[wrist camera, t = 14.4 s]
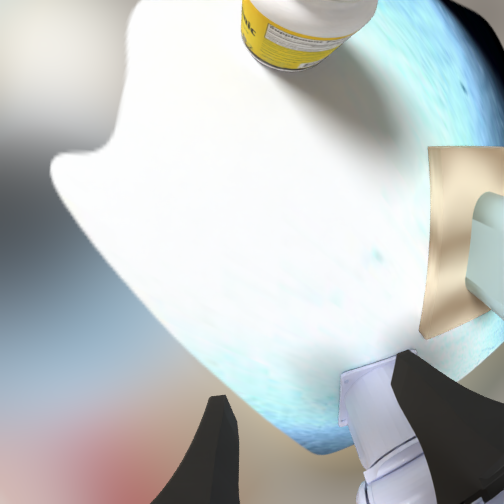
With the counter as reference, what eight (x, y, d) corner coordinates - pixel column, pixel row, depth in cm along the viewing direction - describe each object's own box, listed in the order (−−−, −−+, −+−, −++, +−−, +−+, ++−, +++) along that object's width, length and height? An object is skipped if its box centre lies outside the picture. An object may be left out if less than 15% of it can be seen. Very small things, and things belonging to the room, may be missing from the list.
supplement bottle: (251, -6, 12) (268, -108, 3) (334, 17, 12) (412, -58, 3) (230, 62, 14) (228, -27, 4) (319, 85, 14) (411, 34, 5)
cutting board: (491, 298, 22) (499, 305, 20) (418, 330, 22) (426, 340, 20) (506, 147, 16) (518, 149, 14) (427, 146, 16) (440, 148, 14)
